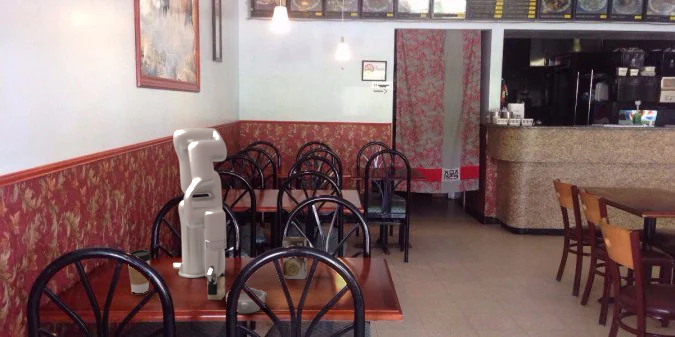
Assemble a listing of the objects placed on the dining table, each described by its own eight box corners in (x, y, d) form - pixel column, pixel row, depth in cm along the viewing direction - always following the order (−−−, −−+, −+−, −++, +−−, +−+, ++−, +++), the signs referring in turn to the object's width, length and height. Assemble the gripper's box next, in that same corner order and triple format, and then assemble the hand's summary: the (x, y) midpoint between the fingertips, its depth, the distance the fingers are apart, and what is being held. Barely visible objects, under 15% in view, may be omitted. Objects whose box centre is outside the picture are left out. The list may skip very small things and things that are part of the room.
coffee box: (307, 274, 227) (307, 236, 225) (304, 279, 220) (304, 240, 218) (285, 273, 227) (285, 235, 225) (282, 278, 221) (282, 239, 219)
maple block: (207, 299, 198) (207, 280, 197) (211, 294, 202) (211, 276, 202) (221, 299, 197) (220, 281, 196) (225, 295, 202) (224, 276, 201)
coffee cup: (156, 289, 208) (155, 250, 206) (142, 296, 200) (140, 256, 198) (138, 286, 210) (137, 248, 208) (123, 293, 202) (121, 254, 200)
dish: (249, 318, 181) (249, 303, 181) (217, 310, 188) (216, 295, 187) (274, 304, 194) (274, 290, 193) (243, 297, 201) (243, 283, 200)
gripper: (212, 238, 206) (213, 282, 208) (197, 249, 189) (198, 298, 191) (232, 238, 206) (233, 282, 207) (218, 250, 188) (220, 298, 190)
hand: (216, 290), depth 199 cm, fingers open, 9 cm apart
